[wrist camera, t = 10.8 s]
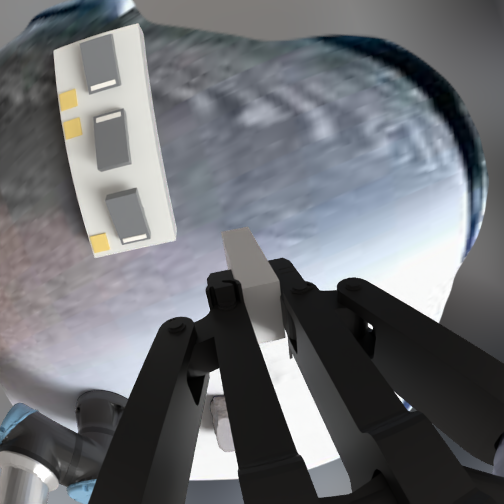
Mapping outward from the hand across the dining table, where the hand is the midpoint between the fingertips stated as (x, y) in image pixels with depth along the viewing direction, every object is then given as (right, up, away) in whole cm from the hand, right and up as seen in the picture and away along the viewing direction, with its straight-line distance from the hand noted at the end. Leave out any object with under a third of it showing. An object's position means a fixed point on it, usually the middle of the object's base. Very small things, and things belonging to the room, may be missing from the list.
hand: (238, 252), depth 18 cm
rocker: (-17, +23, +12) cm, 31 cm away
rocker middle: (-16, +13, +16) cm, 26 cm away
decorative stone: (-4, -35, +46) cm, 58 cm away
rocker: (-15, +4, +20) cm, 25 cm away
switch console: (-18, +16, +22) cm, 33 cm away
